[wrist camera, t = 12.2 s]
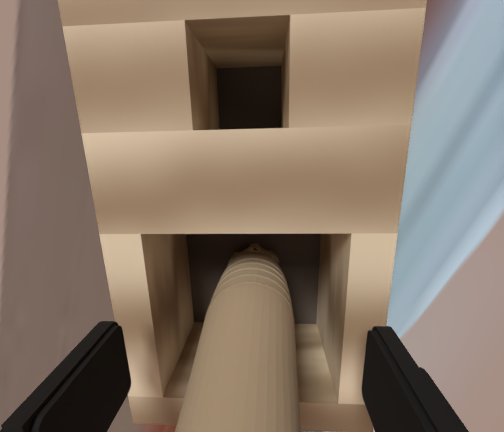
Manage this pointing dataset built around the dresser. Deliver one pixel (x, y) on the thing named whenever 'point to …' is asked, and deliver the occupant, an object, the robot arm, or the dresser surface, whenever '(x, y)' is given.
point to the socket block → (246, 174)
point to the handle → (245, 353)
